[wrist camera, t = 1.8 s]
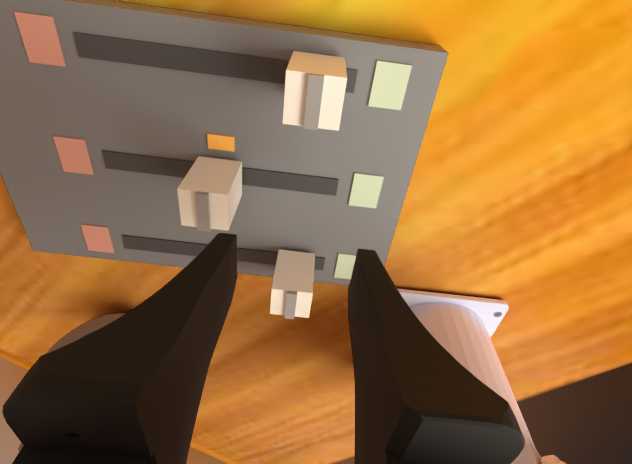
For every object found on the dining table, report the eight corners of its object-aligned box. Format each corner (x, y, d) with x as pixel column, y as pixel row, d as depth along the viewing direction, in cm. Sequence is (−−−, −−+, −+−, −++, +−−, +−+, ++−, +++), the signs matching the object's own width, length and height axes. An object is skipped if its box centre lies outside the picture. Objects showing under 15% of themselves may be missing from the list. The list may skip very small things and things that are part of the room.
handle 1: (311, 277, 22) (308, 321, 19) (277, 273, 22) (269, 316, 19) (315, 253, 21) (312, 296, 18) (278, 249, 21) (271, 291, 18)
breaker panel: (375, 271, 24) (377, 289, 22) (49, 234, 23) (32, 251, 22) (439, 45, 16) (448, 53, 15) (-49, -22, 15) (-85, -20, 14)
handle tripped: (241, 194, 19) (227, 233, 16) (201, 189, 18) (180, 228, 16) (241, 161, 18) (226, 197, 15) (198, 156, 17) (175, 191, 15)
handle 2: (338, 103, 16) (338, 133, 13) (290, 97, 16) (281, 126, 13) (345, 57, 15) (347, 79, 12) (293, 50, 15) (285, 71, 12)
